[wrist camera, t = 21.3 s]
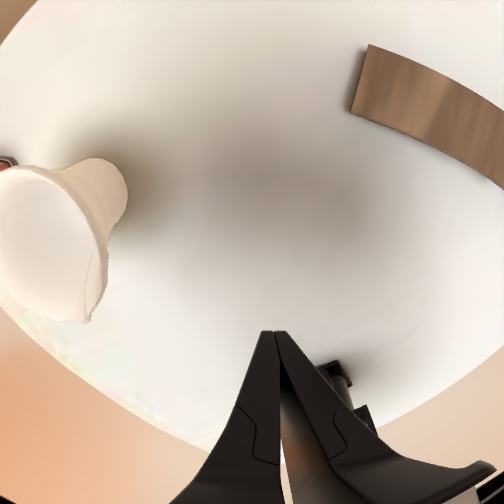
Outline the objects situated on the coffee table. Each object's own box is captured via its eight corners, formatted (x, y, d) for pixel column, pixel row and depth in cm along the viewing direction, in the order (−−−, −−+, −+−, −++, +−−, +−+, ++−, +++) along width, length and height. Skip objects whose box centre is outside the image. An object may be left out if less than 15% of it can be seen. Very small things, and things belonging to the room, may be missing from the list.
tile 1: (366, 51, 15) (496, 114, 14) (350, 112, 18) (480, 172, 16) (368, 43, 14) (508, 114, 12) (351, 110, 16) (491, 176, 14)
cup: (95, 260, 23) (43, 343, 14) (39, 170, 18) (-44, 224, 9) (179, 216, 21) (144, 305, 13) (119, 108, 17) (32, 127, 8)
